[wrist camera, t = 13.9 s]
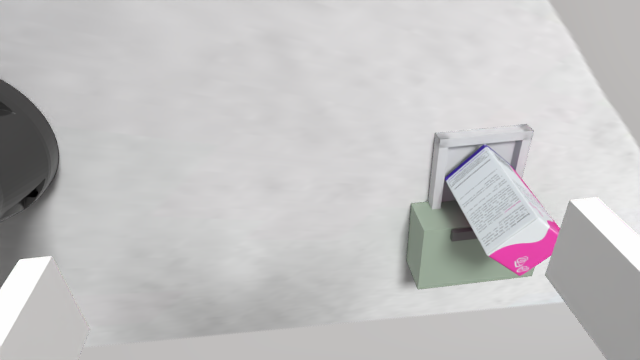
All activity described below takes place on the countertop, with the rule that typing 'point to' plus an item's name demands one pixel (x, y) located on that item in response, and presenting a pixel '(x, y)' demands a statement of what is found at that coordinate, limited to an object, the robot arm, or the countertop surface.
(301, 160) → the countertop surface
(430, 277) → the sliding drawer box
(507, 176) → the supplement box
